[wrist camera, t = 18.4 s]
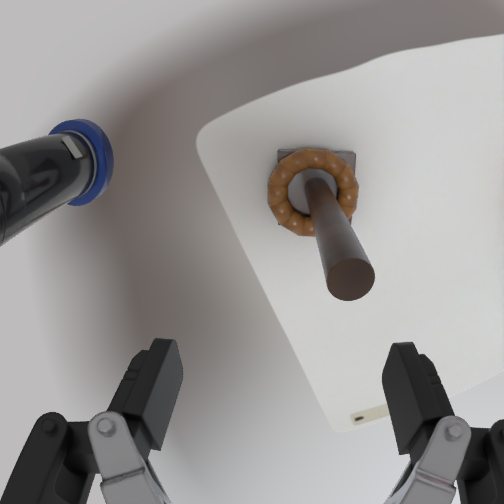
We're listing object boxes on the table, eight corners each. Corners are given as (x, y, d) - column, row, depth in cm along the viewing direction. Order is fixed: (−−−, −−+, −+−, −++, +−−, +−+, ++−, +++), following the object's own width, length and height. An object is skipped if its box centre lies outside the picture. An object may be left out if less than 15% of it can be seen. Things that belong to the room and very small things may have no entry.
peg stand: (278, 220, 35) (273, 338, 18) (277, 149, 32) (274, 204, 14) (348, 221, 35) (403, 336, 17) (352, 151, 31) (433, 210, 14)
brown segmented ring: (267, 230, 34) (266, 237, 32) (268, 145, 30) (268, 148, 28) (350, 233, 34) (354, 241, 32) (359, 150, 30) (363, 153, 28)
